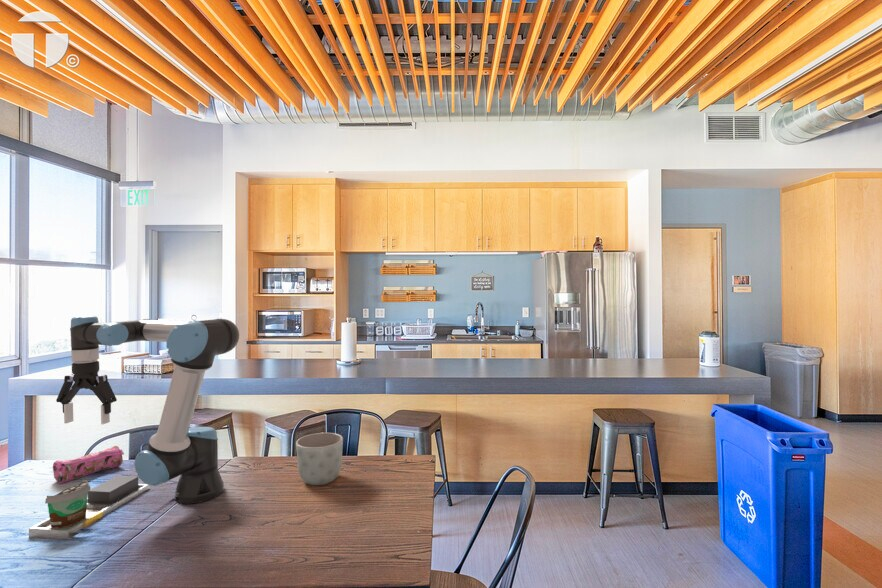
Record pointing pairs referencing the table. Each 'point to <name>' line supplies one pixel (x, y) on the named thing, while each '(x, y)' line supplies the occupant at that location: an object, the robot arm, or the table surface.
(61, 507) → the food container
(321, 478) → the planter
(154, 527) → the table surface
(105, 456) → the pencil case
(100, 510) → the rack
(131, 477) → the grey rectangular box
